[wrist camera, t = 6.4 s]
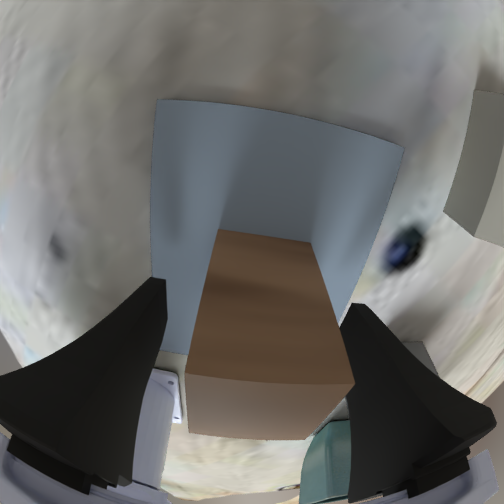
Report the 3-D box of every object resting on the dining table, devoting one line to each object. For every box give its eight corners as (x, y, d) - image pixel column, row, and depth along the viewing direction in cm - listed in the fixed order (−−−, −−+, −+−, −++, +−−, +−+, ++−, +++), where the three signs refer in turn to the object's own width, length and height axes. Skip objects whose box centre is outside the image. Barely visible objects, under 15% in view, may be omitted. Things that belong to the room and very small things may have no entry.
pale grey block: (480, 224, 12) (509, 249, 9) (440, 209, 12) (473, 236, 9) (509, 120, 8) (544, 133, 6) (471, 89, 8) (511, 95, 5)
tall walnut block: (288, 310, 14) (304, 439, 8) (210, 300, 13) (188, 432, 7) (310, 242, 12) (355, 383, 6) (218, 229, 11) (184, 372, 5)
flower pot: (358, 436, 27) (368, 495, 19) (293, 442, 26) (297, 507, 18) (393, 405, 22) (412, 477, 15) (318, 413, 22) (328, 498, 14)
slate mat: (312, 360, 17) (314, 367, 16) (161, 343, 16) (159, 350, 16) (398, 145, 10) (404, 147, 9) (161, 99, 9) (157, 99, 9)
